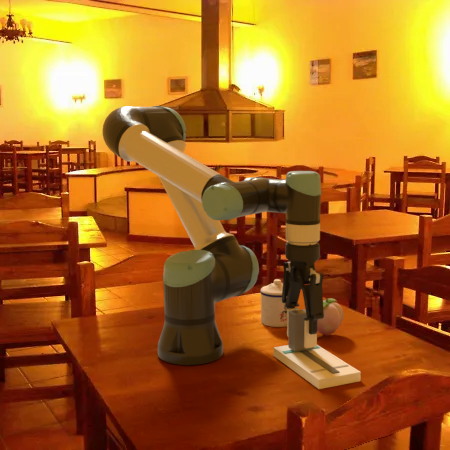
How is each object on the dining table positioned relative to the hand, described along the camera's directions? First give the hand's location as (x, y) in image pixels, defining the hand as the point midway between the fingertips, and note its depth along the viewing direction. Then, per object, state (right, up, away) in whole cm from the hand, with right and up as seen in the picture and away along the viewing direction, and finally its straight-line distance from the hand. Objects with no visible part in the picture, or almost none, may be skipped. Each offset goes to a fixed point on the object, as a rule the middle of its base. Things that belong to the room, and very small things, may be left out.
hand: (301, 341), depth 145 cm
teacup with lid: (-3, 0, +27) cm, 28 cm away
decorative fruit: (+8, -2, +16) cm, 18 cm away
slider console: (+2, -5, -5) cm, 7 cm away
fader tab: (0, -2, 0) cm, 2 cm away
